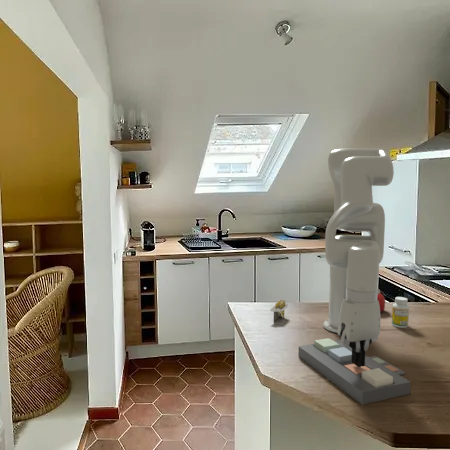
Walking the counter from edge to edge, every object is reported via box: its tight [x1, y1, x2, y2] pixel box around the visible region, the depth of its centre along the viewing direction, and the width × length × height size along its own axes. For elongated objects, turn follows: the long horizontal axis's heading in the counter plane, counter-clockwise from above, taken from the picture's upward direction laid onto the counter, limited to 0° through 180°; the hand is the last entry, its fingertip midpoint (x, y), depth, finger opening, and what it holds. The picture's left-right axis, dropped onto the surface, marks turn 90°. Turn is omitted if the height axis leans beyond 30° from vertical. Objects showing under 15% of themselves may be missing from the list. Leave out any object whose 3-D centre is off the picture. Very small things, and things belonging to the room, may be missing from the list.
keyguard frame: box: [297, 339, 411, 405], centre depth 116 cm, size 14×28×3 cm, turn 21°
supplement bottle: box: [391, 296, 410, 329], centre depth 152 cm, size 5×5×10 cm
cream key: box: [362, 368, 393, 388], centre depth 106 cm, size 5×5×3 cm
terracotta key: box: [344, 364, 371, 375], centre depth 113 cm, size 5×5×3 cm
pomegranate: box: [377, 291, 386, 313], centre depth 168 cm, size 10×10×9 cm
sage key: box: [313, 337, 339, 353], centre depth 126 cm, size 5×5×3 cm
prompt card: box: [369, 355, 406, 376], centre depth 120 cm, size 5×11×1 cm, turn 21°
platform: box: [270, 299, 289, 323], centre depth 158 cm, size 12×18×7 cm, turn 154°
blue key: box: [328, 347, 352, 363], centre depth 119 cm, size 5×5×3 cm
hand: (358, 364), depth 113 cm, fingers closed
